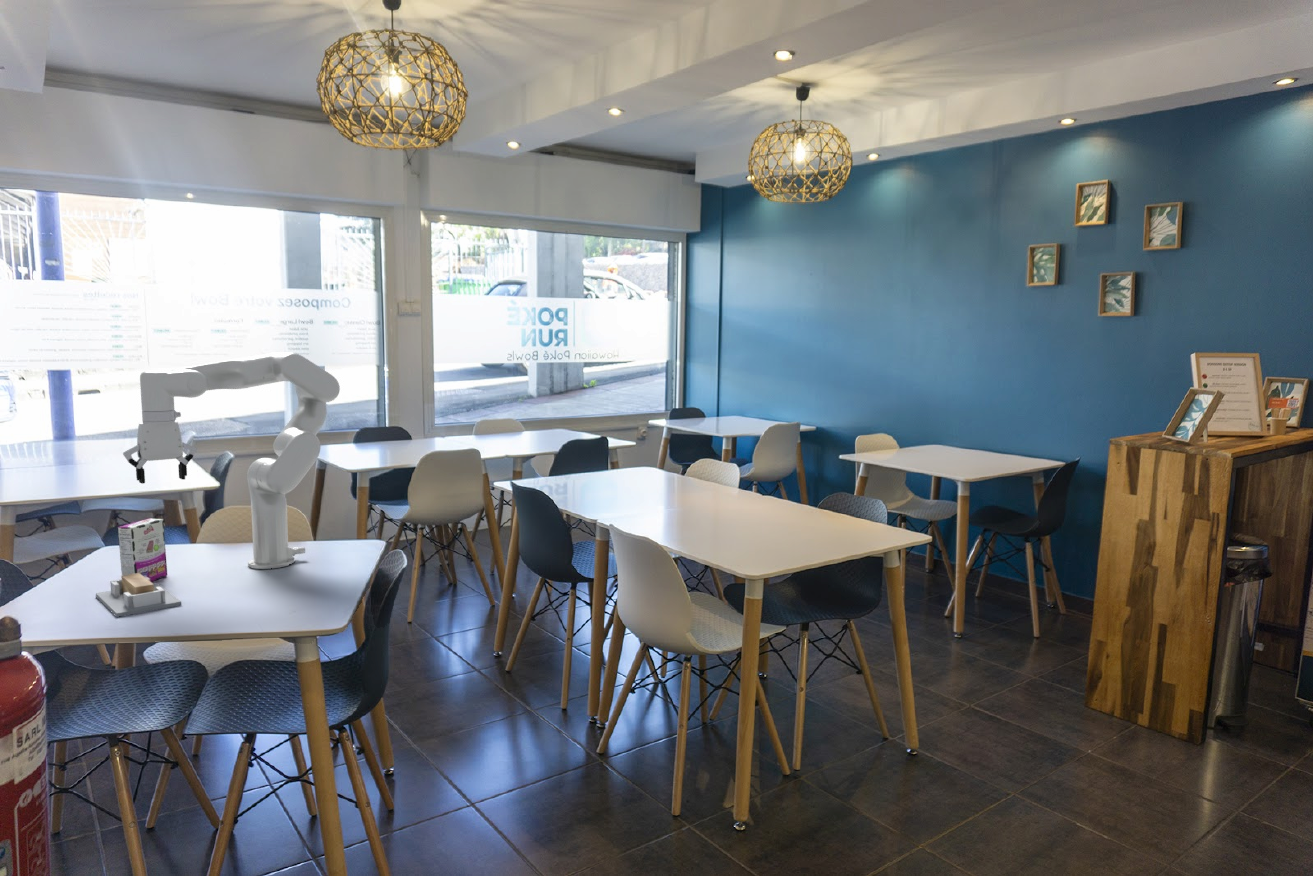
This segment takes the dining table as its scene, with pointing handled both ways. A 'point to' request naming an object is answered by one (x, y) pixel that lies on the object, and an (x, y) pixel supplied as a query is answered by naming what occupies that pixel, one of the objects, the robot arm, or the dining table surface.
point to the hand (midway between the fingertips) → (162, 480)
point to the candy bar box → (143, 548)
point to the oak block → (136, 584)
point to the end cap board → (136, 599)
